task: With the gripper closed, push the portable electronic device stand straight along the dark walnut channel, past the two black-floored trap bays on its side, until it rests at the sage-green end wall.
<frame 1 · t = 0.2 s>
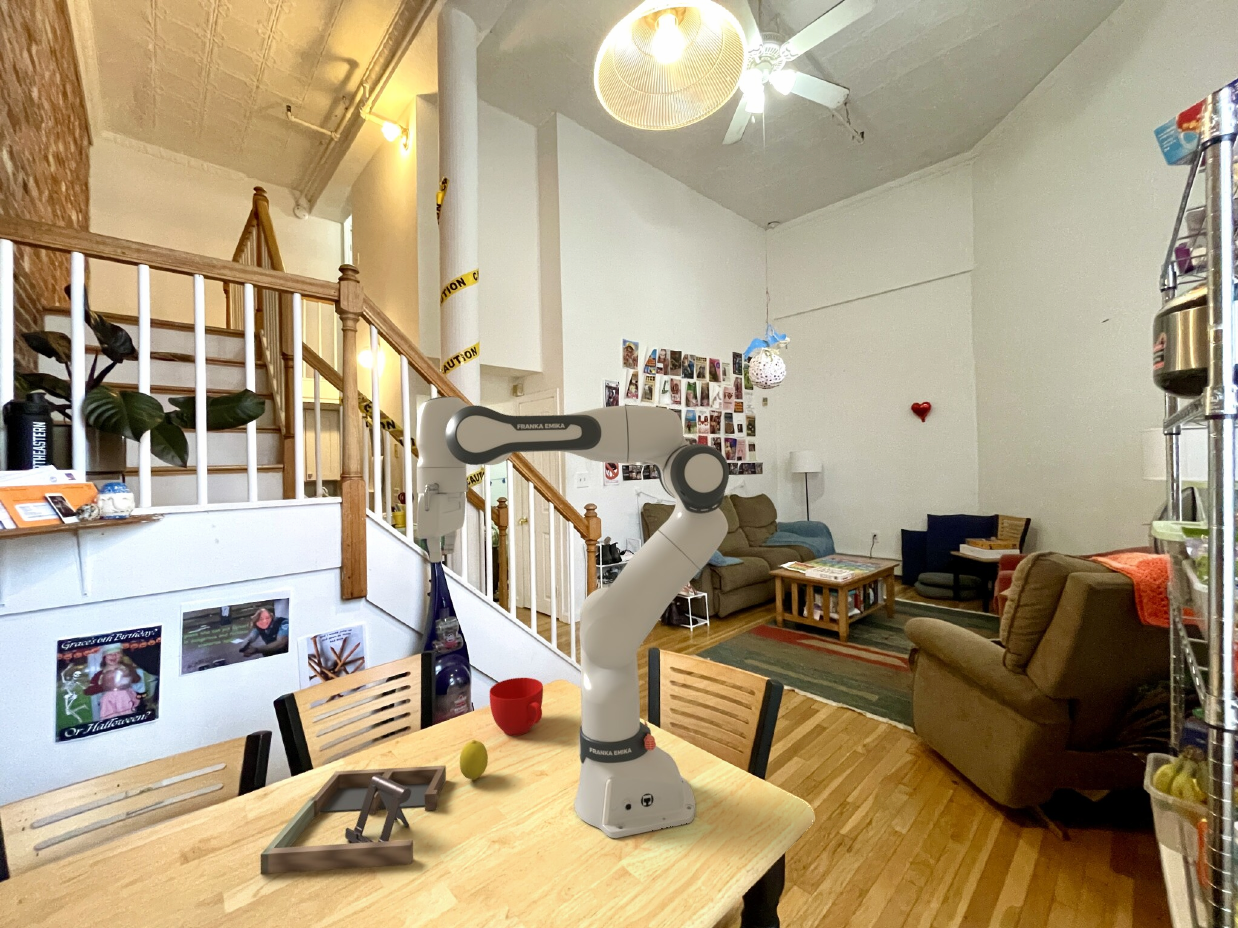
hand: (443, 557, 95), 47 cm above the table, tool pointing down, fingers open, 8 cm apart
lemon: (474, 780, 104), on the table
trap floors: (381, 796, 98), resting in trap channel
ceramic cup: (521, 732, 123), on the table
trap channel: (360, 836, 88), on the table
portable electronic device stand: (381, 837, 88), resting in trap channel
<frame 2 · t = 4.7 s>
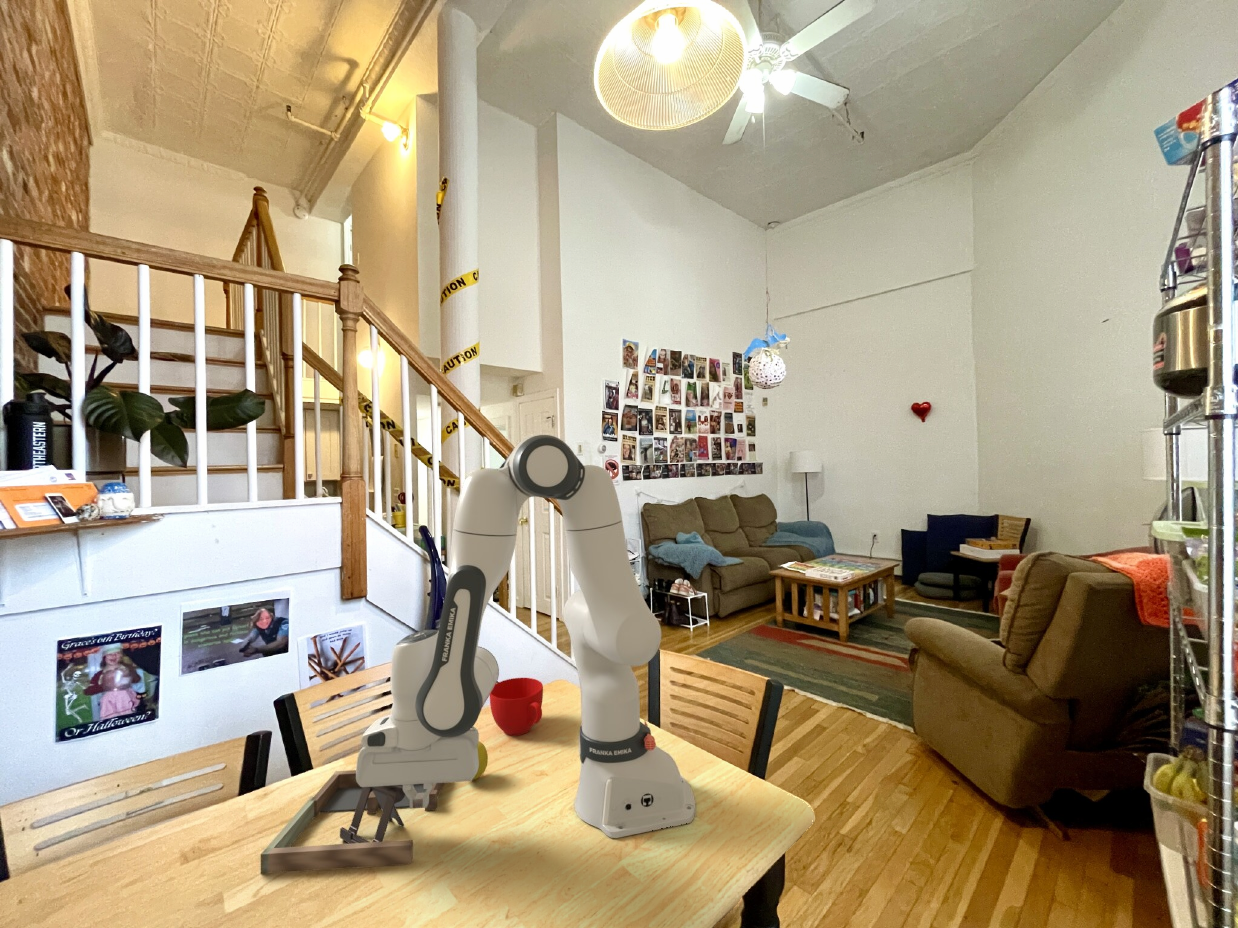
hand: (419, 806, 88), 5 cm above the table, tool pointing down, fingers closed
portable electronic device stand: (375, 836, 88), resting in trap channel, touching gripper
everything else where it was.
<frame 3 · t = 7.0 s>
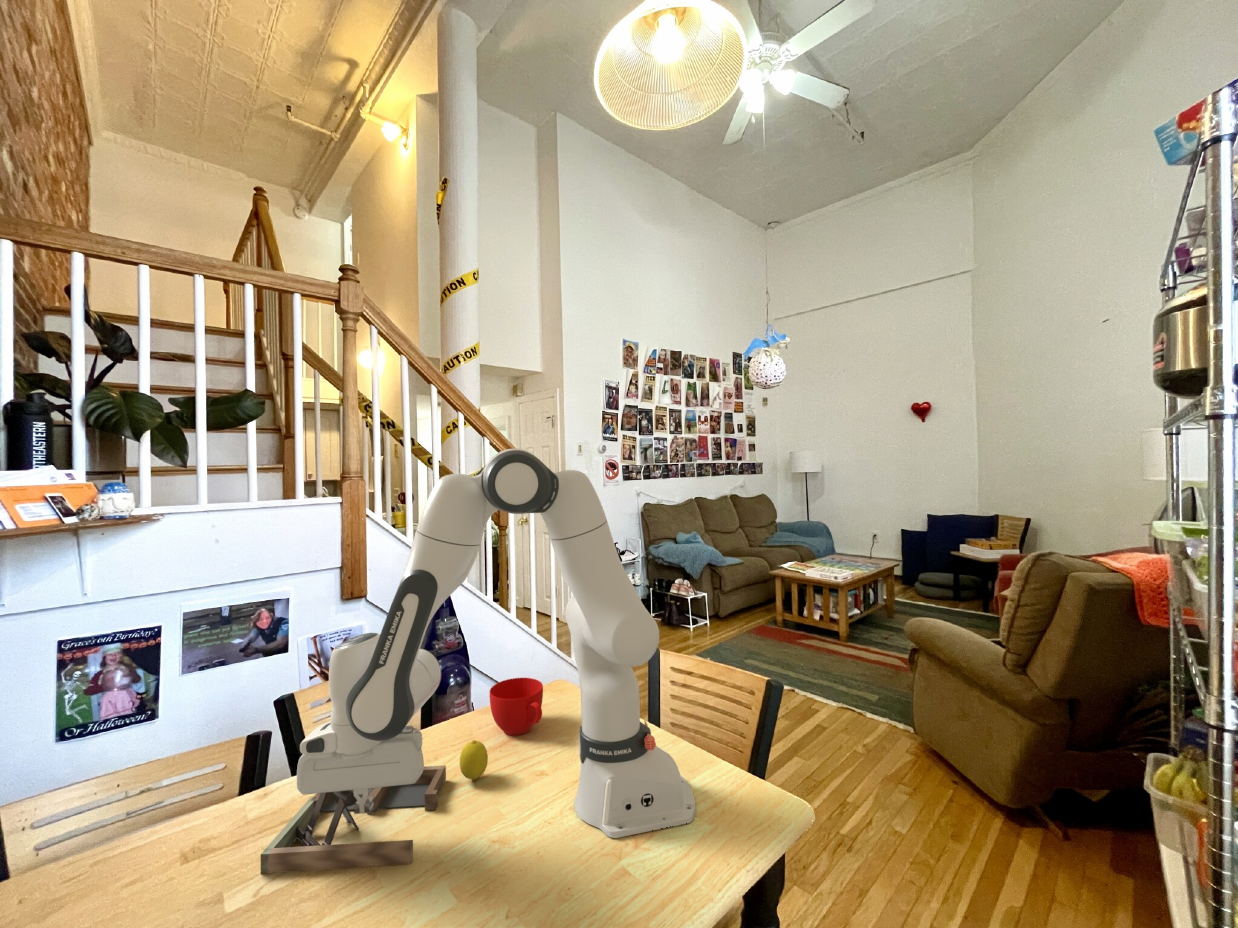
hand: (363, 811, 87), 5 cm above the table, tool pointing down, fingers closed, pressing on portable electronic device stand
portable electronic device stand: (330, 838, 88), resting in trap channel, touching gripper
everything else where it was.
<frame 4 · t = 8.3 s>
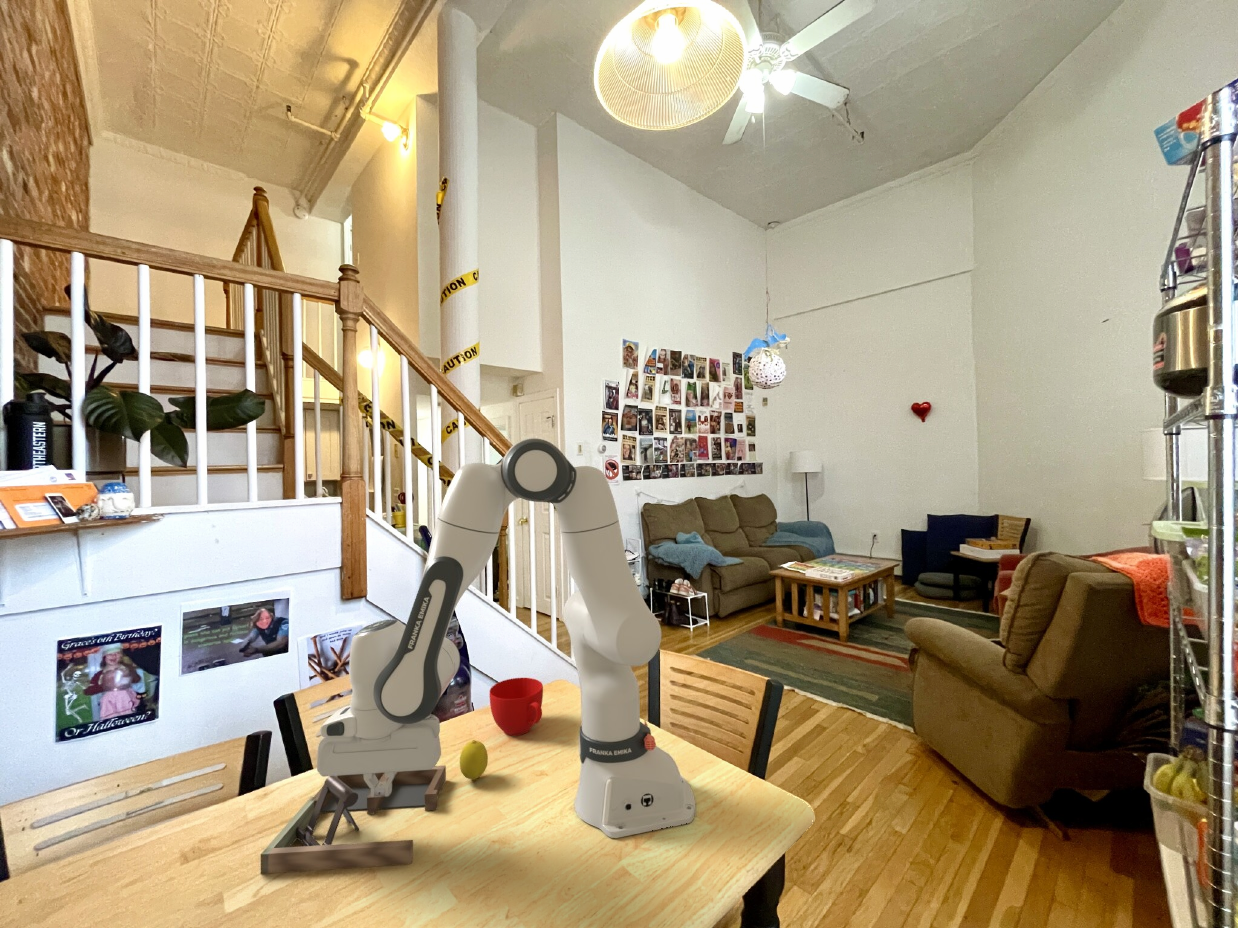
hand: (381, 794, 89), 7 cm above the table, tool pointing down, fingers closed
portable electronic device stand: (330, 838, 88), resting in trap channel
everything else where it was.
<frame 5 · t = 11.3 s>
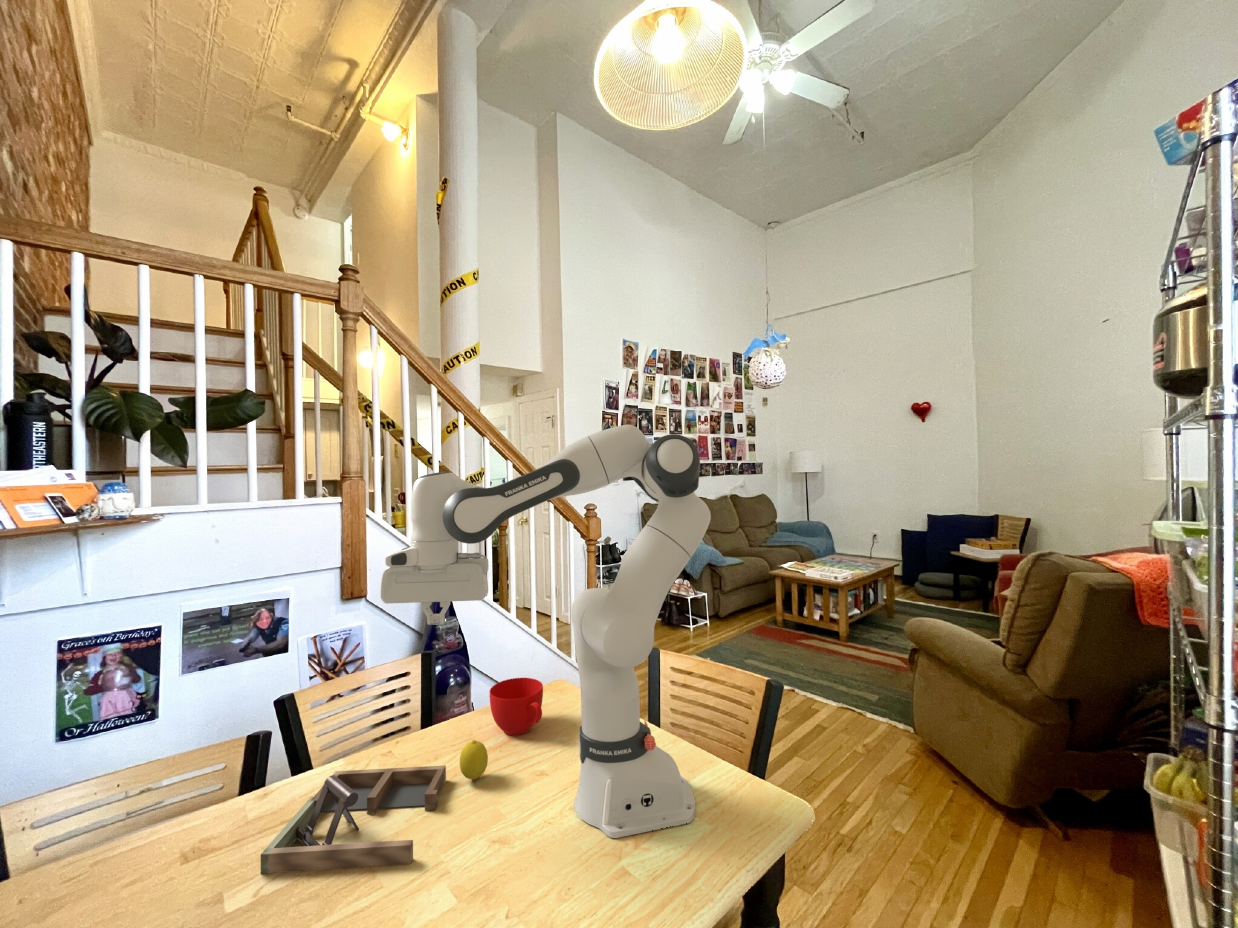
hand: (436, 623, 100), 33 cm above the table, tool pointing down, fingers closed
nothing on the table moved.
at the end: portable electronic device stand inside the target area (1.1 cm from its centre), resting in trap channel; portable electronic device stand tilted 0°; portable electronic device stand moved 8.8 cm from its start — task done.
